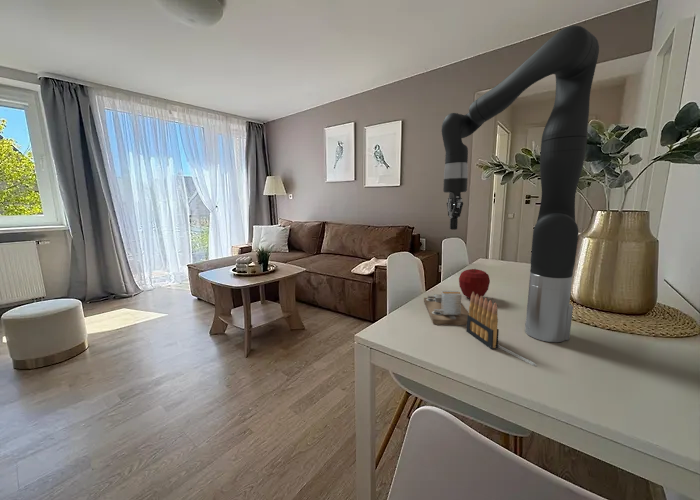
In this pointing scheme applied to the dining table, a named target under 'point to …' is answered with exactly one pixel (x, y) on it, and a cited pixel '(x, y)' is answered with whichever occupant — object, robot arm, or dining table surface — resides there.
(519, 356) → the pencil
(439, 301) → the sliding latch plate
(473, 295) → the ammunition clip
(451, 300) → the grey latch block
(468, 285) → the apple
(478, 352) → the dining table surface
